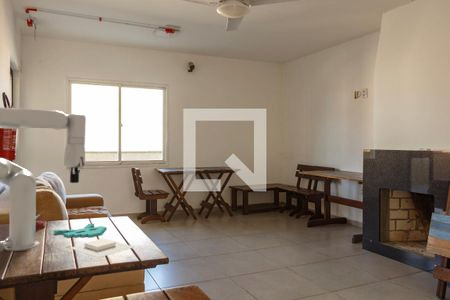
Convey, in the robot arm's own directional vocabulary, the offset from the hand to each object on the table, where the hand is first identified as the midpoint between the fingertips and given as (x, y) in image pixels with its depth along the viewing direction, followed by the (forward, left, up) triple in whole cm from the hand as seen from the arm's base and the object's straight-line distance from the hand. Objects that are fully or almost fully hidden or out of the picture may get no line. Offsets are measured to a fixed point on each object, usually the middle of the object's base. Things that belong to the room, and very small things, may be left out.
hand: (74, 182), depth 156 cm
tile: (+1, -13, -25) cm, 28 cm away
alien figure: (+11, +9, -27) cm, 31 cm away
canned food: (+2, +39, -27) cm, 47 cm away
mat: (+1, -19, -27) cm, 33 cm away
